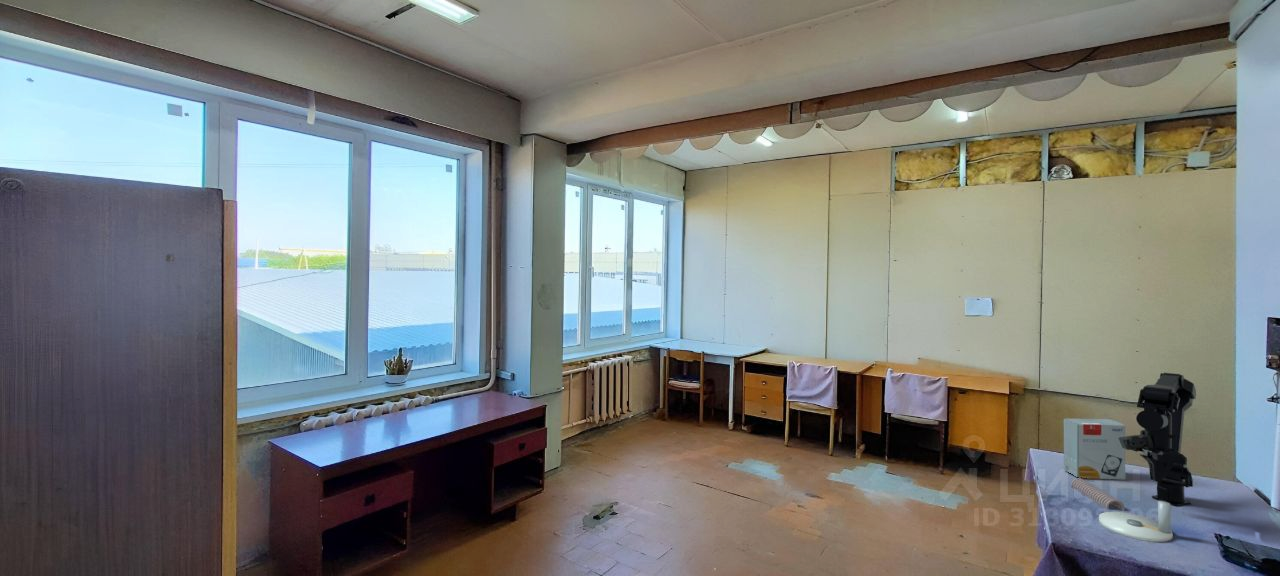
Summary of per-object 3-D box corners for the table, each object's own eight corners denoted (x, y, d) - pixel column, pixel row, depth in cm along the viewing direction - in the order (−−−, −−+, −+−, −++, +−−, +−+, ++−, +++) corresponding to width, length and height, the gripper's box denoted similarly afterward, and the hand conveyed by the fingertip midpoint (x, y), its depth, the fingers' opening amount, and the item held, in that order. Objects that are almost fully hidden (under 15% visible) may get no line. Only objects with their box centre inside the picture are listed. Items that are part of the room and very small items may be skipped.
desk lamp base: (1102, 510, 155) (1102, 481, 154) (1173, 527, 143) (1173, 495, 143) (1095, 528, 145) (1094, 496, 144) (1171, 548, 133) (1170, 513, 133)
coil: (1068, 477, 172) (1107, 501, 155) (1084, 476, 172) (1124, 500, 154) (1070, 491, 172) (1109, 516, 155) (1086, 490, 172) (1127, 515, 154)
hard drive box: (1077, 479, 180) (1076, 424, 180) (1063, 470, 188) (1061, 417, 188) (1127, 480, 178) (1125, 424, 177) (1110, 471, 185) (1109, 418, 185)
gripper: (1110, 420, 164) (1109, 469, 163) (1135, 428, 148) (1134, 482, 146) (1157, 426, 159) (1156, 477, 158) (1188, 435, 143) (1187, 491, 141)
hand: (1157, 481), depth 151 cm, fingers closed
